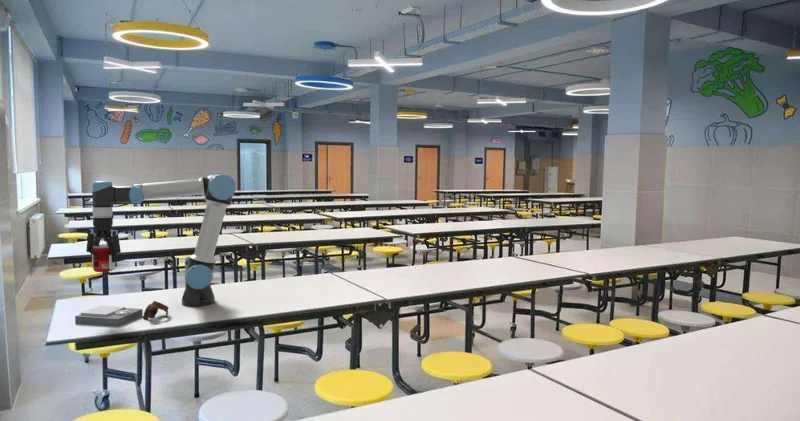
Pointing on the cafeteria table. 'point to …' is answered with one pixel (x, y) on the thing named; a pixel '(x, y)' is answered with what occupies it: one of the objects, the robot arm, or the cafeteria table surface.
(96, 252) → the canned food
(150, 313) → the brown arched piece
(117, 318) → the dial scale
